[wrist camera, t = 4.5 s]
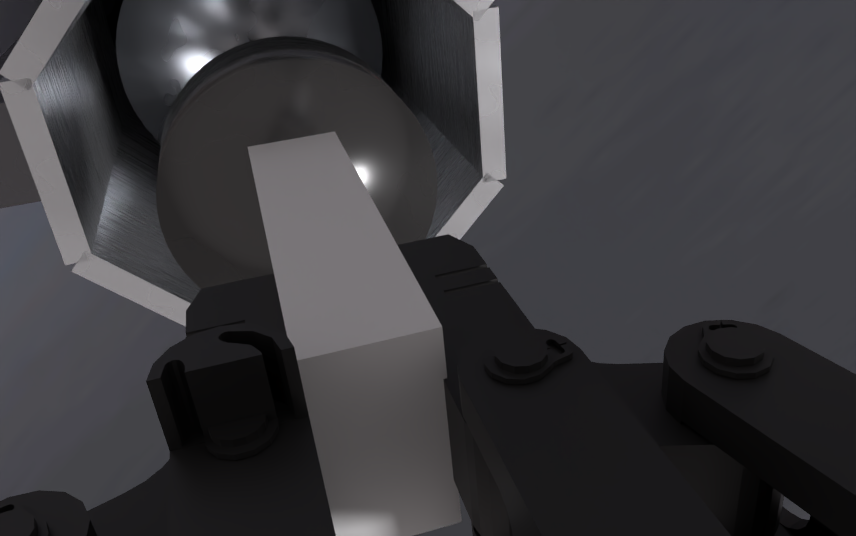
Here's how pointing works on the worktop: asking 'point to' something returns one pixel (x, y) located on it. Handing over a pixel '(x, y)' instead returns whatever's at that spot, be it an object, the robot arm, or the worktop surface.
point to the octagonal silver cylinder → (139, 150)
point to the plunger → (263, 117)
